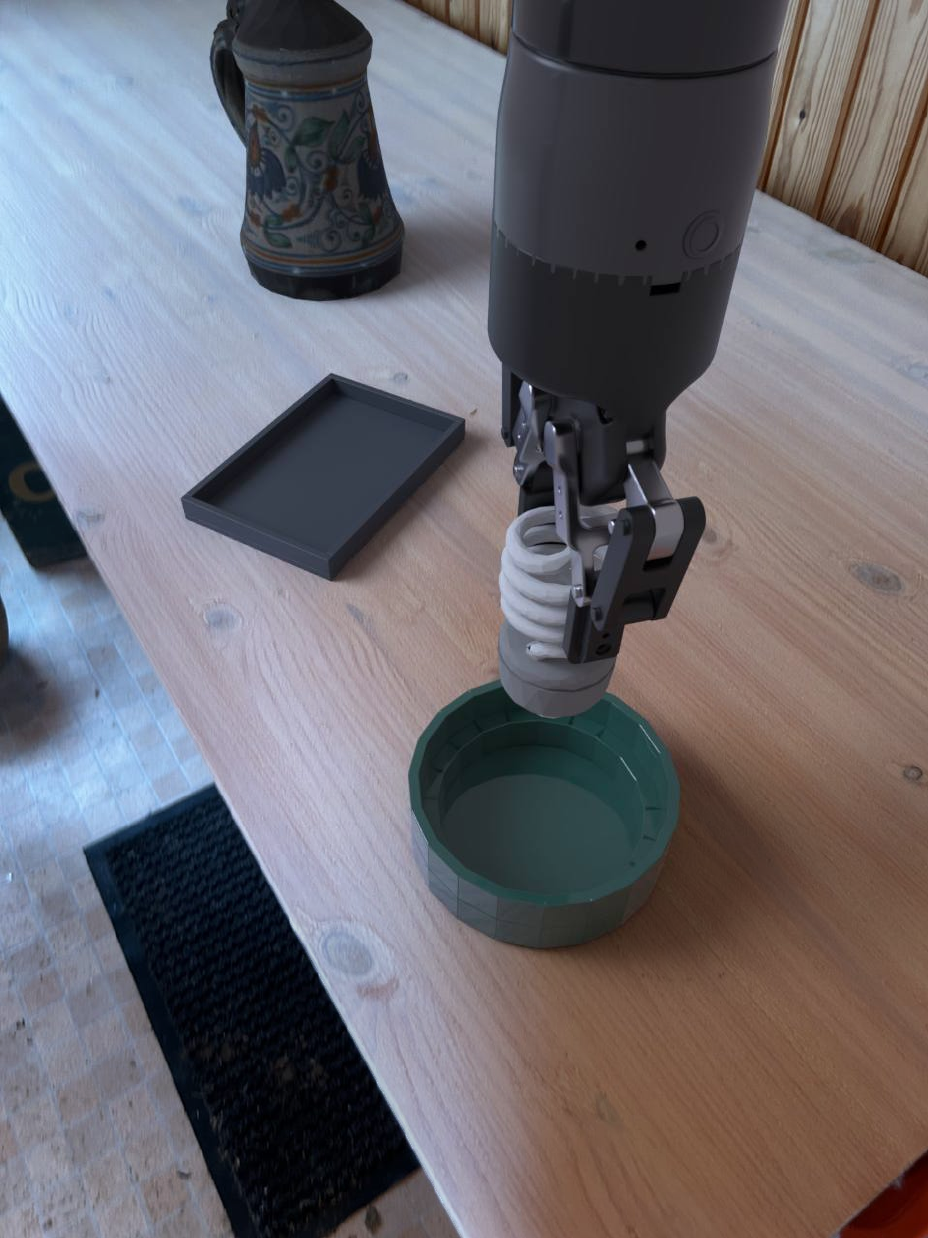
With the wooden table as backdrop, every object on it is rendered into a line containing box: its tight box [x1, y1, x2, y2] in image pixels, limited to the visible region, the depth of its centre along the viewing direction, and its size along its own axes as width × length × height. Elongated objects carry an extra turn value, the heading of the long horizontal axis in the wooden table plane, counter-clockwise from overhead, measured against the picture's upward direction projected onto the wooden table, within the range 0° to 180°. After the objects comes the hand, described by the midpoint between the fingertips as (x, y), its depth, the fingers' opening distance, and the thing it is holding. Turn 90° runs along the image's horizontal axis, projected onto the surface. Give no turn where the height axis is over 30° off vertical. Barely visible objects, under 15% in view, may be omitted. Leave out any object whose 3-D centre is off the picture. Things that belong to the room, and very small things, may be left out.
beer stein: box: [209, 0, 406, 302], centre depth 90 cm, size 16×19×25 cm
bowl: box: [407, 678, 681, 949], centre depth 53 cm, size 14×14×5 cm
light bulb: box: [497, 504, 619, 719], centre depth 42 cm, size 6×6×12 cm
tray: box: [180, 372, 466, 582], centre depth 75 cm, size 19×13×2 cm
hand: (564, 599), depth 41 cm, fingers closed on light bulb, 5 cm apart
